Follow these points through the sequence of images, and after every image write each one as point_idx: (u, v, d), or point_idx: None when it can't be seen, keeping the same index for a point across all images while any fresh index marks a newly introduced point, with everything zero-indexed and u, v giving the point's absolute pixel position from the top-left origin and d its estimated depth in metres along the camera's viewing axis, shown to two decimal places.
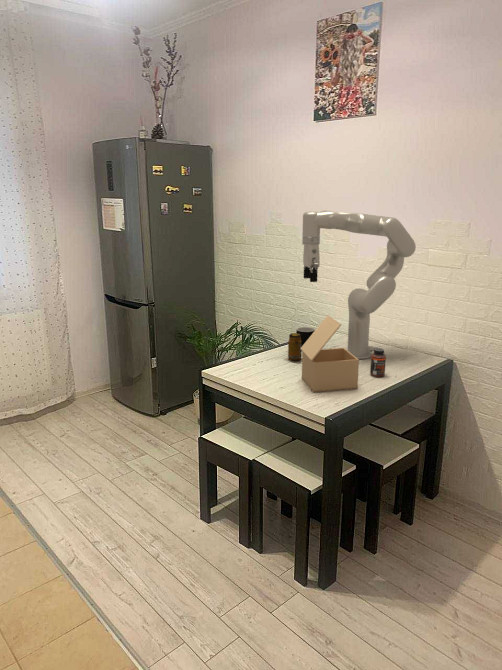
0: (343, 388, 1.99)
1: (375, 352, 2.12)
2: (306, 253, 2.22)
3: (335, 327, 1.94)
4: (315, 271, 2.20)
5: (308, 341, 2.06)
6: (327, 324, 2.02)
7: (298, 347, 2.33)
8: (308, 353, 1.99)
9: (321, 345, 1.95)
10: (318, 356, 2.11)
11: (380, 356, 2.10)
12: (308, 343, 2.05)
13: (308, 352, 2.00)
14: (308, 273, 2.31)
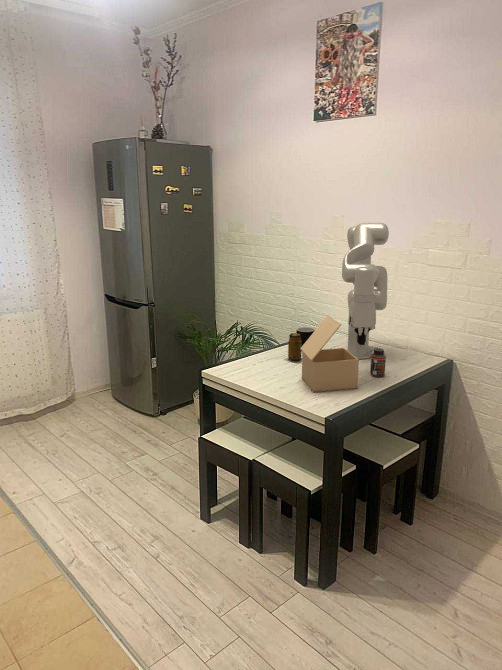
0: (343, 388, 1.99)
1: (375, 352, 2.12)
2: (369, 312, 1.99)
3: (335, 327, 1.94)
4: None
5: (308, 341, 2.06)
6: (327, 324, 2.02)
7: (298, 347, 2.33)
8: (308, 353, 1.99)
9: (321, 345, 1.95)
10: (318, 356, 2.11)
11: (380, 356, 2.10)
12: (308, 343, 2.05)
13: (308, 352, 2.00)
14: None
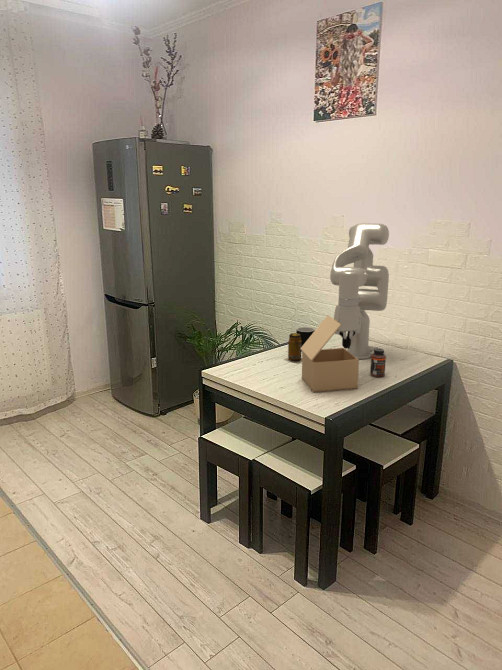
0: (343, 388, 1.99)
1: (375, 352, 2.12)
2: (353, 316, 1.98)
3: (335, 327, 1.94)
4: None
5: (308, 341, 2.06)
6: (327, 324, 2.02)
7: (298, 347, 2.33)
8: (308, 353, 1.99)
9: (321, 345, 1.95)
10: (318, 356, 2.11)
11: (380, 356, 2.10)
12: (308, 343, 2.05)
13: (308, 352, 2.00)
14: None
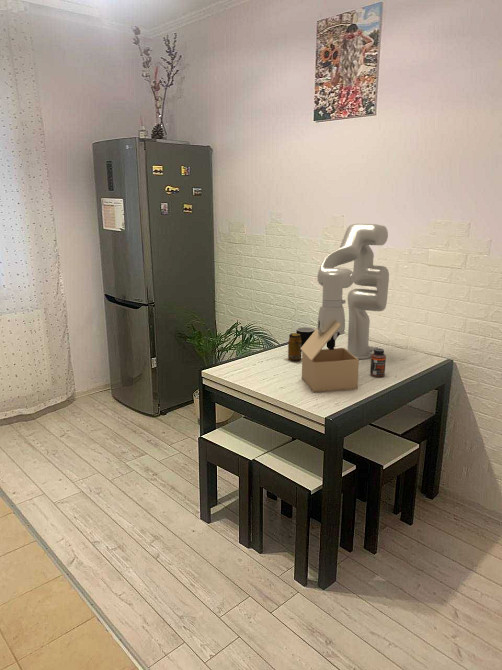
0: (343, 388, 1.99)
1: (375, 352, 2.12)
2: (337, 317, 1.97)
3: (335, 327, 1.94)
4: None
5: (308, 341, 2.06)
6: None
7: (298, 347, 2.33)
8: (308, 353, 1.99)
9: (321, 345, 1.95)
10: (318, 356, 2.11)
11: (380, 356, 2.10)
12: (308, 343, 2.05)
13: (308, 352, 2.00)
14: None
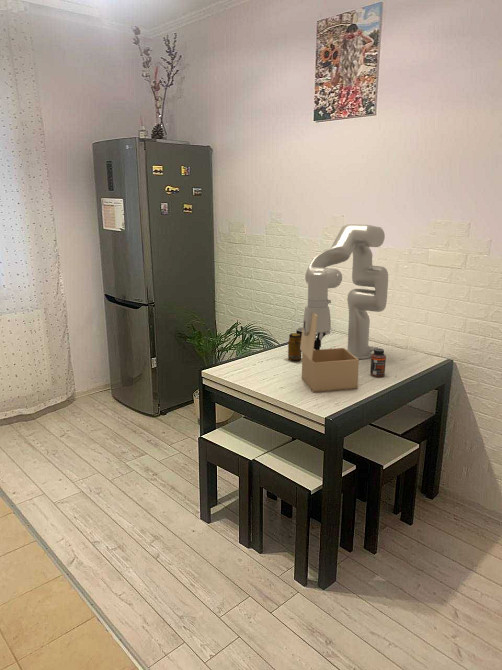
0: (343, 388, 1.99)
1: (375, 352, 2.12)
2: (323, 317, 1.96)
3: (314, 320, 1.92)
4: None
5: (302, 340, 2.06)
6: None
7: (298, 347, 2.33)
8: (307, 353, 1.99)
9: (312, 342, 1.94)
10: (318, 356, 2.11)
11: (380, 356, 2.10)
12: (303, 342, 2.05)
13: (306, 352, 2.00)
14: None
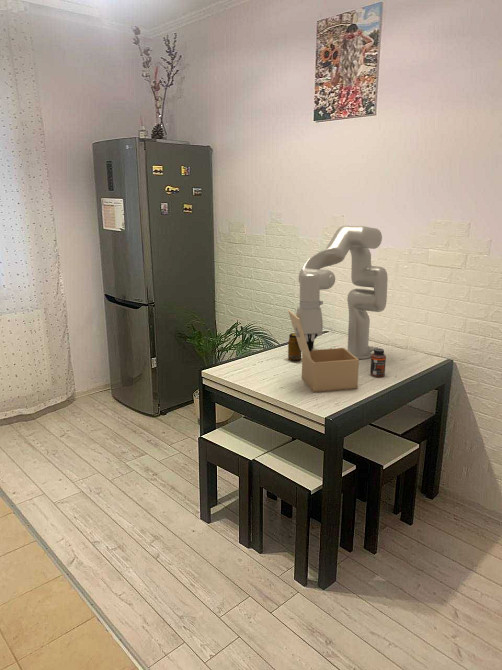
0: (343, 388, 1.99)
1: (375, 352, 2.12)
2: (315, 319, 1.96)
3: (298, 323, 1.91)
4: None
5: (298, 341, 2.05)
6: (293, 320, 1.99)
7: (298, 347, 2.33)
8: (306, 354, 1.99)
9: (305, 344, 1.93)
10: (318, 356, 2.11)
11: (380, 356, 2.10)
12: (299, 343, 2.04)
13: (305, 353, 2.00)
14: None
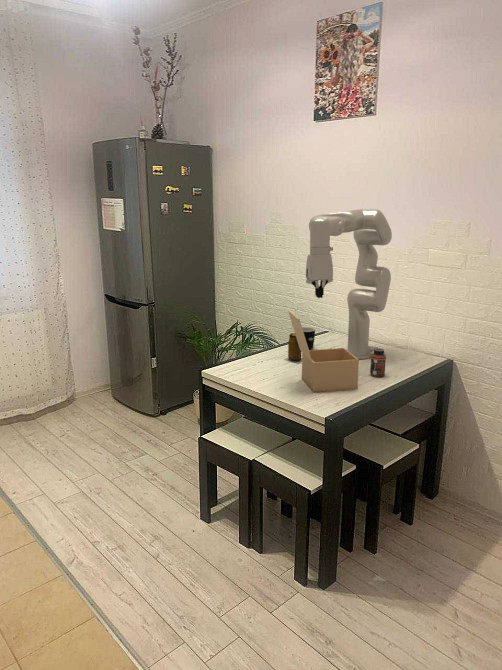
0: (343, 388, 1.99)
1: (375, 352, 2.12)
2: (325, 264, 1.98)
3: (298, 323, 1.91)
4: None
5: (298, 341, 2.05)
6: (293, 320, 1.99)
7: (298, 347, 2.33)
8: (306, 354, 1.99)
9: (305, 344, 1.93)
10: (318, 356, 2.11)
11: (380, 356, 2.10)
12: (299, 343, 2.04)
13: (305, 353, 2.00)
14: None
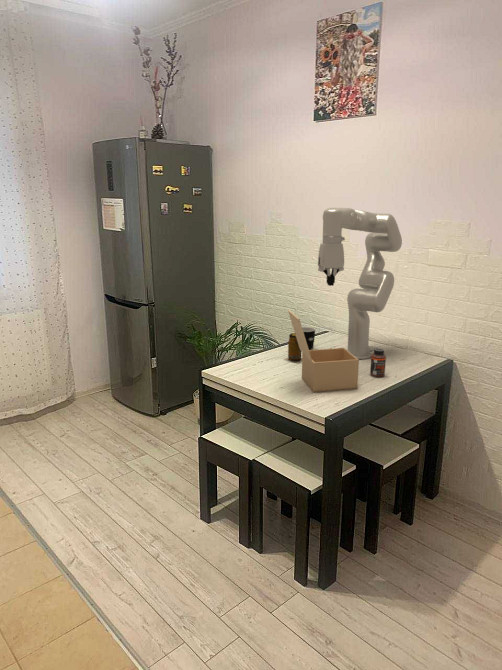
0: (343, 388, 1.99)
1: (375, 352, 2.12)
2: (337, 253, 2.07)
3: (298, 323, 1.91)
4: None
5: (298, 341, 2.05)
6: (293, 320, 1.99)
7: (298, 347, 2.33)
8: (306, 354, 1.99)
9: (305, 344, 1.93)
10: (318, 356, 2.11)
11: (380, 356, 2.10)
12: (299, 343, 2.04)
13: (305, 353, 2.00)
14: None
